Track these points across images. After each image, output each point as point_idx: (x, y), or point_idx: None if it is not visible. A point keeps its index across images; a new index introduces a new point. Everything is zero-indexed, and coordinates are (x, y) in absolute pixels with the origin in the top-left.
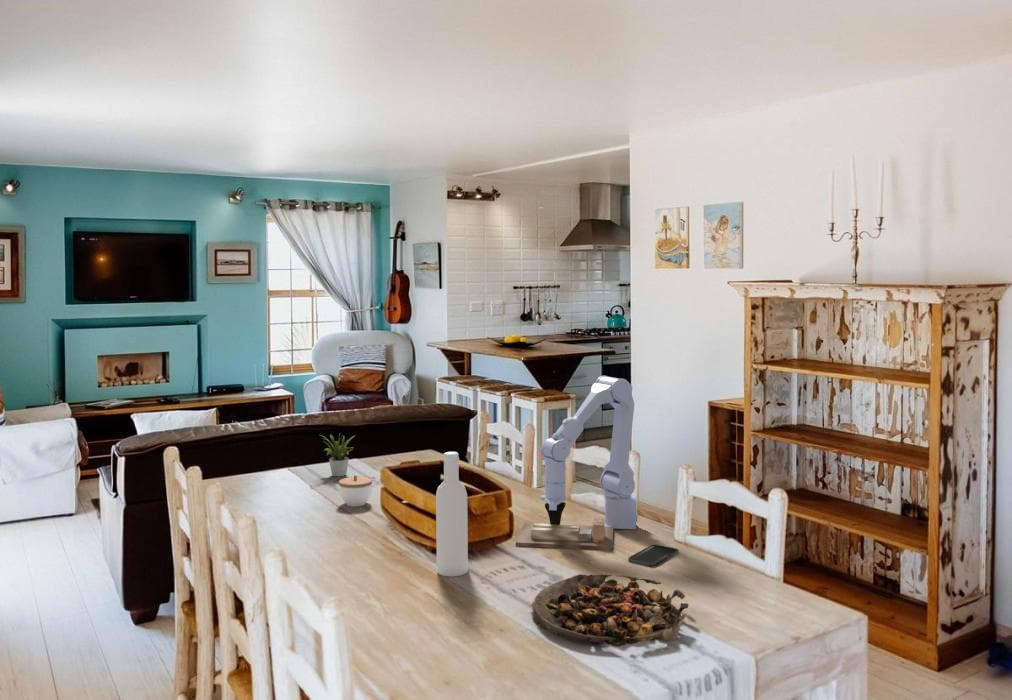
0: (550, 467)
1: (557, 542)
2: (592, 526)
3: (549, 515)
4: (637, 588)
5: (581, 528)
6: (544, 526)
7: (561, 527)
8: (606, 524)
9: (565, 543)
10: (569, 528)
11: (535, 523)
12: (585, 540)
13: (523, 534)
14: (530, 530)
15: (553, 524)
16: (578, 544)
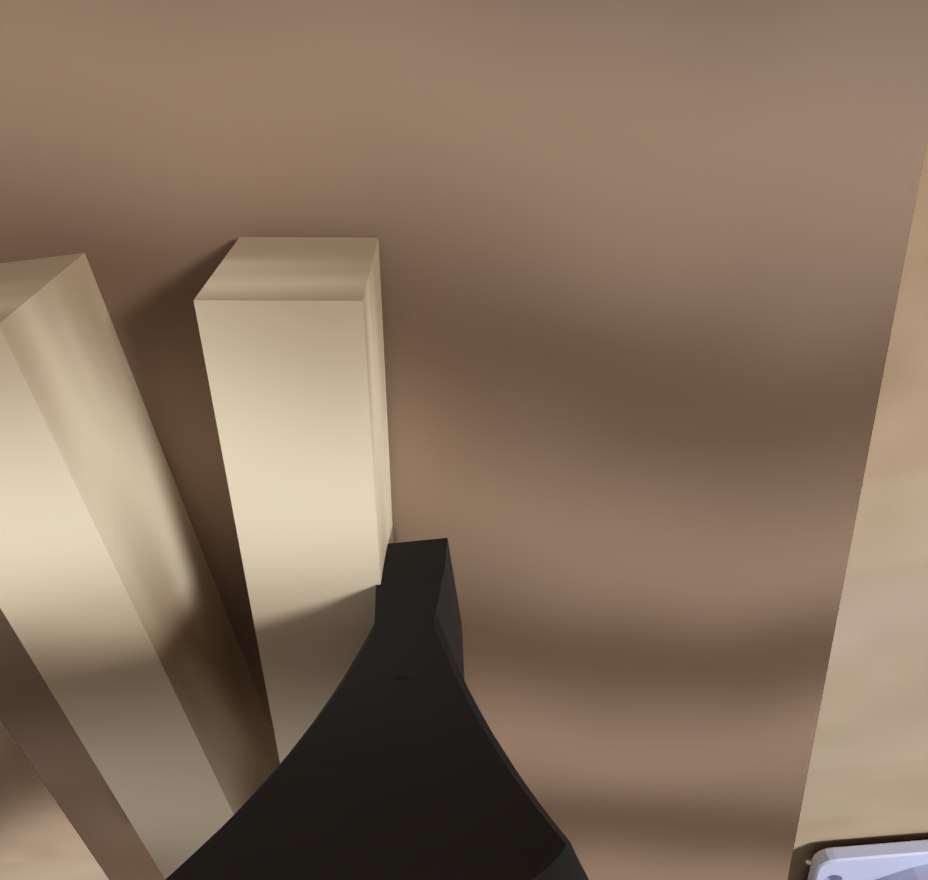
0: None
1: (15, 636)
2: (783, 817)
3: (318, 728)
4: None
5: (693, 750)
6: (234, 513)
7: (275, 736)
8: (892, 878)
9: (33, 710)
10: None
11: (324, 327)
12: None
13: (123, 43)
14: (451, 124)
15: None
16: (78, 807)
